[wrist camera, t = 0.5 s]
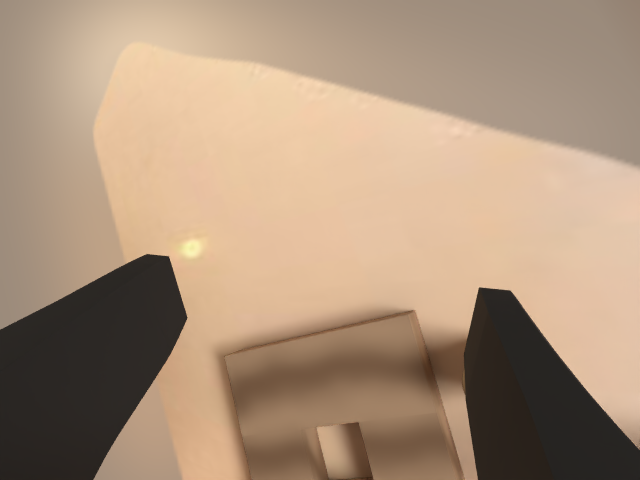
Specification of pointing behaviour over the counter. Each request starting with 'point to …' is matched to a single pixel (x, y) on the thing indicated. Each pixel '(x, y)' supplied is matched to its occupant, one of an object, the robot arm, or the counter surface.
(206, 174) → the counter surface
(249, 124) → the counter surface
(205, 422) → the counter surface
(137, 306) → the robot arm
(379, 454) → the hole board
